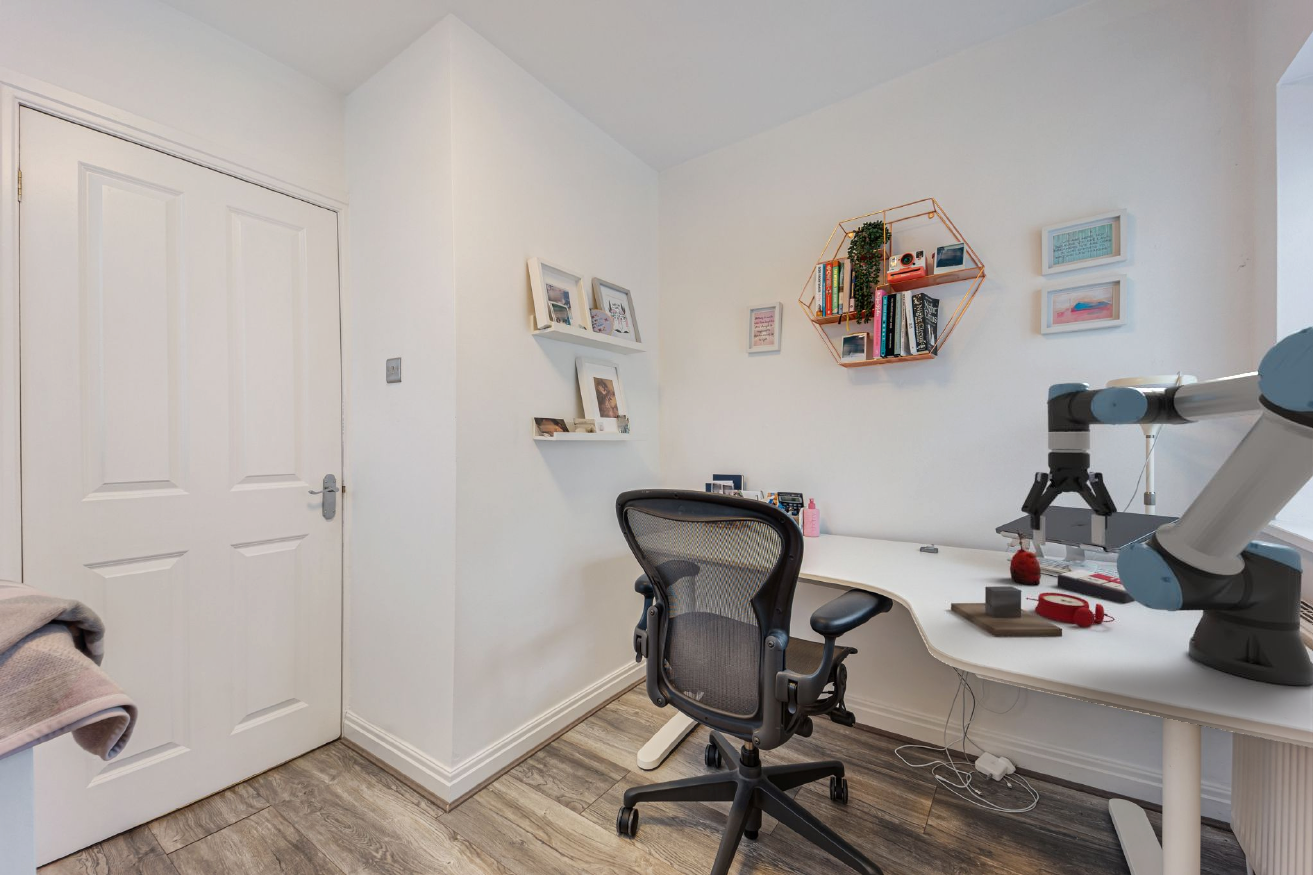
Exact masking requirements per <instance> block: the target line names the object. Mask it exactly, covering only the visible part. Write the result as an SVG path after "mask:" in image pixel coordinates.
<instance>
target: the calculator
mask: <svg viewBox="0 0 1313 875" xmlns="http://www.w3.org/2000/svg"><path fill="white" fill-rule="evenodd" d="M1056 587H1057V588H1059V589H1064V590H1067V591H1071V592H1078V593H1081V594H1086V595H1088V596H1093V597H1095V596H1096V597H1097V598H1099V597H1101V598H1100V599H1104V600H1107V599H1108V601H1111V602H1112V601H1113V602H1116V603H1120V604H1129V603H1134V602H1136V601H1135V600H1134V599H1133V598H1132V597H1131V596H1130V595H1129V594H1128V592H1127V591H1126V590H1125V588H1124V587H1123V585H1122V583H1121V581H1120V579H1119V577H1118V578H1117V577H1115V576H1111V575H1110V576H1109V575H1107V574H1102V573H1096V572H1091V571H1087V570H1085V569H1078V570H1072V571H1068V572H1063V573H1059V574H1057V584H1056Z"/></svg>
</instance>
